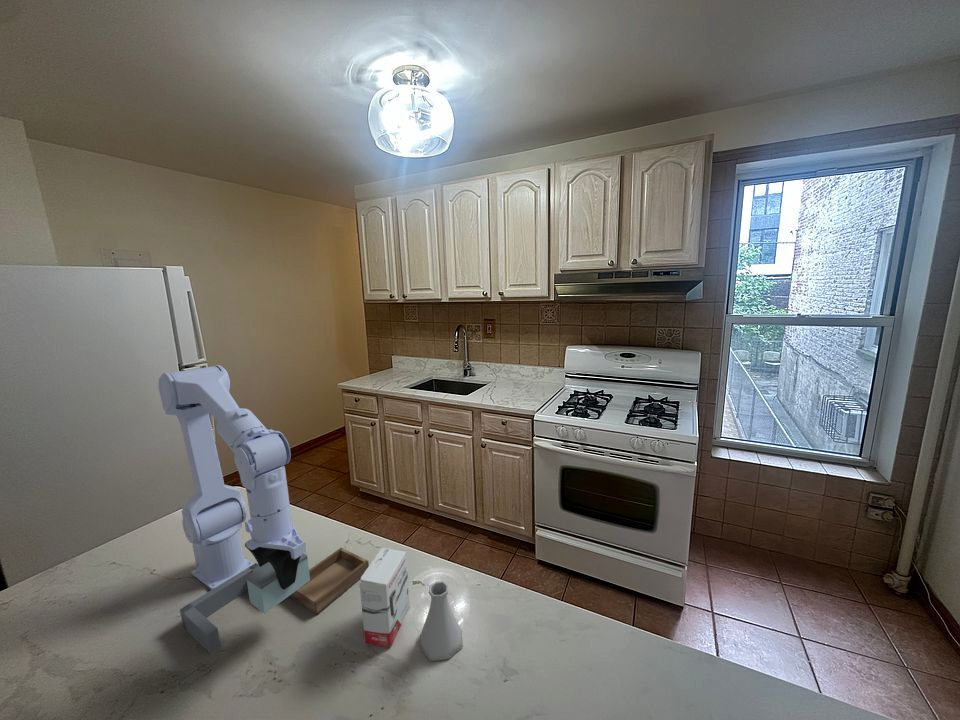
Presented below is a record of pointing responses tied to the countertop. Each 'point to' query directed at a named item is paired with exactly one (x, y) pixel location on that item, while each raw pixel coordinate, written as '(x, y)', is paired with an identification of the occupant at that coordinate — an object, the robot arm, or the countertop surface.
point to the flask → (440, 626)
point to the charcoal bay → (213, 609)
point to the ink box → (384, 596)
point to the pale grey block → (274, 585)
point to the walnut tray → (330, 580)
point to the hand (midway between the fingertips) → (279, 579)
